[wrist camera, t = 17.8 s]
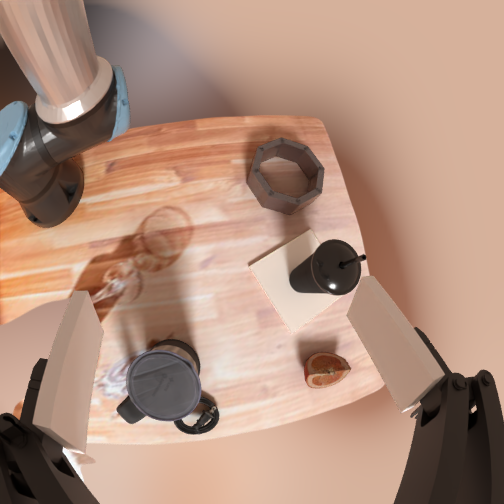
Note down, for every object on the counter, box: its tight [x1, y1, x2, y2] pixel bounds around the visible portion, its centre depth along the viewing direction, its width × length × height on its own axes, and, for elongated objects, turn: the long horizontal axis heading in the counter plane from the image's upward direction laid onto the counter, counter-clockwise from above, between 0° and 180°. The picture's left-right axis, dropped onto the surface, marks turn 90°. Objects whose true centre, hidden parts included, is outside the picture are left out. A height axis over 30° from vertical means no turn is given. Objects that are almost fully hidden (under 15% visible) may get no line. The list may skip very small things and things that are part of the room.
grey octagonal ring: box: [247, 138, 324, 215], centre depth 50 cm, size 13×13×5 cm
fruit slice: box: [304, 352, 351, 388], centre depth 43 cm, size 8×7×5 cm
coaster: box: [249, 229, 343, 334], centre depth 48 cm, size 14×14×1 cm
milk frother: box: [117, 339, 219, 434], centre depth 34 cm, size 14×16×15 cm
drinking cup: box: [289, 239, 366, 296], centre depth 38 cm, size 8×8×20 cm
